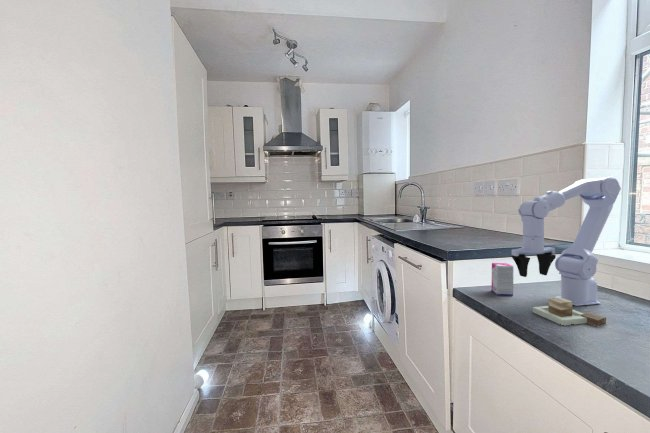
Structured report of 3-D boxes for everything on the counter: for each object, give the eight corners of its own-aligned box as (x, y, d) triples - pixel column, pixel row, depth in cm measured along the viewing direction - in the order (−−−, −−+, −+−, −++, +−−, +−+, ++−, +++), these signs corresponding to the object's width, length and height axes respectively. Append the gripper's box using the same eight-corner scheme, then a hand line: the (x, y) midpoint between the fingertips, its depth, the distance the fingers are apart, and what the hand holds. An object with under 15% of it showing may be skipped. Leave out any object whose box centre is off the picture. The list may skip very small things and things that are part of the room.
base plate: (560, 309, 90) (560, 304, 90) (593, 322, 80) (593, 317, 80) (532, 312, 89) (532, 307, 89) (562, 325, 79) (562, 320, 79)
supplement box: (514, 296, 104) (514, 266, 104) (496, 295, 105) (496, 266, 105) (507, 291, 110) (507, 262, 109) (490, 290, 111) (490, 262, 110)
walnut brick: (588, 318, 83) (588, 311, 83) (605, 324, 79) (606, 317, 79) (580, 321, 82) (580, 314, 81) (598, 327, 78) (598, 320, 78)
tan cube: (559, 310, 88) (559, 297, 87) (572, 315, 84) (572, 301, 83) (548, 312, 87) (548, 298, 87) (560, 317, 83) (561, 302, 83)
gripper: (541, 233, 98) (541, 271, 99) (504, 235, 97) (504, 273, 97) (560, 235, 91) (560, 276, 92) (521, 238, 90) (521, 279, 90)
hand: (533, 275), depth 94 cm, fingers open, 7 cm apart
